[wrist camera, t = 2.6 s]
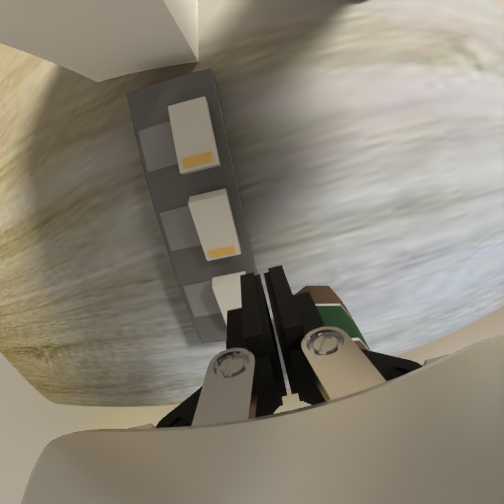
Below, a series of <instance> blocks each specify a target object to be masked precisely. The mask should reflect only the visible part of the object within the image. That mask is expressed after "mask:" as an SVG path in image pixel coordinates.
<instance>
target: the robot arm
mask: <svg viewBox="0 0 504 504" xmlns="http://www.w3.org/2000/svg"><path fill="white" fill-rule="evenodd" d="M268 270H269V272H267V273H264V277H265V281H266V286H267V290H268V294H269V299H270V303H271V308H272V313H273V317H274V322H275V326H276V330H277V335H278V339H279V343H280V347H281V351H282V355H283V359H284V363H285V367H286V372H287V376H288V380H289V384H290V388H291V392H292V394H295V393H298V395H299V399H300V401H304V402H306V403H309V404H311V406H307V407H303V408H299V409H295V410H291V411H286V412H281V413H277V414H274V412H275V410H276V409H277V408H278V407H279V406H281V405H283V403H282V396H287V392H286V387H285V382H284V377H283V372H282V367H281V363H280V358H279V353H278V348H277V343H276V338H275V334H274V329H273V325H272V321H271V317H270V313H269V310H268V306H267V302H266V298H265V294H264V290H263V286H262V282H261V278H260V274H259V275H254V272H252V273H248V274H243V275H240V285H241V304H242V307H241V308H237V309H232V310H228V311H227V338H226V350H225V351H222V352H220V353H219V354H217V355H216V356H215V357H214V358H213V359H212V360H211V361H210V363H209V365H208V369H207V372H206V376H205V380H204V383H203V386H202V387H201V388H200V389H198V390H197V391H196V392H195V393H193V394H192V395H191V396H190V397H189V398H187V399H186V400H185V401H184V402H182V403H181V404H180V405H179V406H178V407H176V408H175V409H174V410H173V411H171V412H170V413H169V414H167V415H166V416H165V417H164V418H163V419H162V420H161V421H160V422H159V423H158V424H157V426H153V425H152V424H148V425H143V426H139V427H134V428H129V429H100V430H99V429H98V430H86V431H79V432H74V433H70V434H67V435H63V436H61V437H58V438H56V439H54V440H52V441H51V442H50V443H49V444H47V445H46V447H45V448H44V449H43V451H42V453H41V454H40V456H39V458H38V460H37V462H36V464H35V466H34V468H33V471H32V473H31V475H30V478H29V481H28V484H27V486H26V490H25V492H24V495H23V499H22V502H21V504H504V334H503V335H497V336H494V337H491V338H487V339H485V340H481V341H479V342H477V343H474V344H472V345H469V346H467V347H465V348H463V349H461V350H459V351H457V352H454V353H452V354H449V355H445V356H441V357H437V358H433V359H429V360H425V362H424V364H422V365H420V364H419V363H417V362H413V361H411V360H407V359H402V358H397V357H393V356H389V355H385V354H381V353H377V352H372V351H368V350H364V349H361V348H359V347H358V346H357V345H356V344H355V342H354V341H353V340H352V339H351V338H350V336H349V335H348V334H347V333H346V332H345V331H344V330H342V329H340V328H337V327H331V326H327V327H325V324H324V322H323V320H322V318H321V316H320V314H319V312H318V309H317V307H316V305H315V303H314V301H313V299H312V297H311V295H310V293H309V291H307V292H303V293H299V294H295V295H292V292H291V289H290V287H289V284H288V281H287V279H286V276H285V273H284V271H283V268H282V265H281V266H276V267H272V268H268Z"/></svg>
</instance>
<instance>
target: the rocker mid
mask: <svg viewBox="0 0 504 504" xmlns="http://www.w3.org/2000/svg"><path fill="white" fill-rule="evenodd" d="M188 205H189V208H190V211H191V215H192V218H193V221H194V224H195V227H196V230H197V233H198V236H199V239H200V242H201V245H202V248H203V251H204V254H205V256H206V259H207V261H210V260H215V259H220V258H224V257H229V256H234V255H239V254H241V249H240V243H239V239H238V235H237V231H236V227H235V223H234V219H233V215H232V211H231V207H230V203H229V199H228V195H227V191H226V188H225V189H220V190H216V191H212V192H207V193H203V194H199V195H195V196H191V197H189V201H188Z"/></svg>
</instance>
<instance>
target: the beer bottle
mask: <svg viewBox="0 0 504 504" xmlns="http://www.w3.org/2000/svg"><path fill="white" fill-rule="evenodd" d="M307 291H309V293H310V295H311V297H312V299H313V301H314V303H315V305H316V307H317V309H318V312H319V314H320V316H321V318H322V320H323V322H324V324H325V327H327V326H331V327H337V328H340V329H342V330H344V331H345V332H346V333H347V334H348V335H349V336H350V338H351V339H352V340H353V341H354V342H355V344H356V345H357V346H358V347H359V348H361V349H364V350H368V351H370V349H369V347H368V345H367V344H366V342H365V340H364V338H363V336H362V335H361V333H360V331H359V329H358V327H357V326H356V324H355V322H354V320H353V319H352V317H351V315H350V313H349V312H348V310H347V308H346V307H345V305H344V304H343V302H342V301H341V300H340V299H339V297H338V296H337V295H336V294H335V293H334V292H333V290H332V289H331V288H330V287H329V286H306V287H304V288H303V289H302V290H300V291H299V292H298V293H297V294H299V293H303V292H307Z"/></svg>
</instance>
